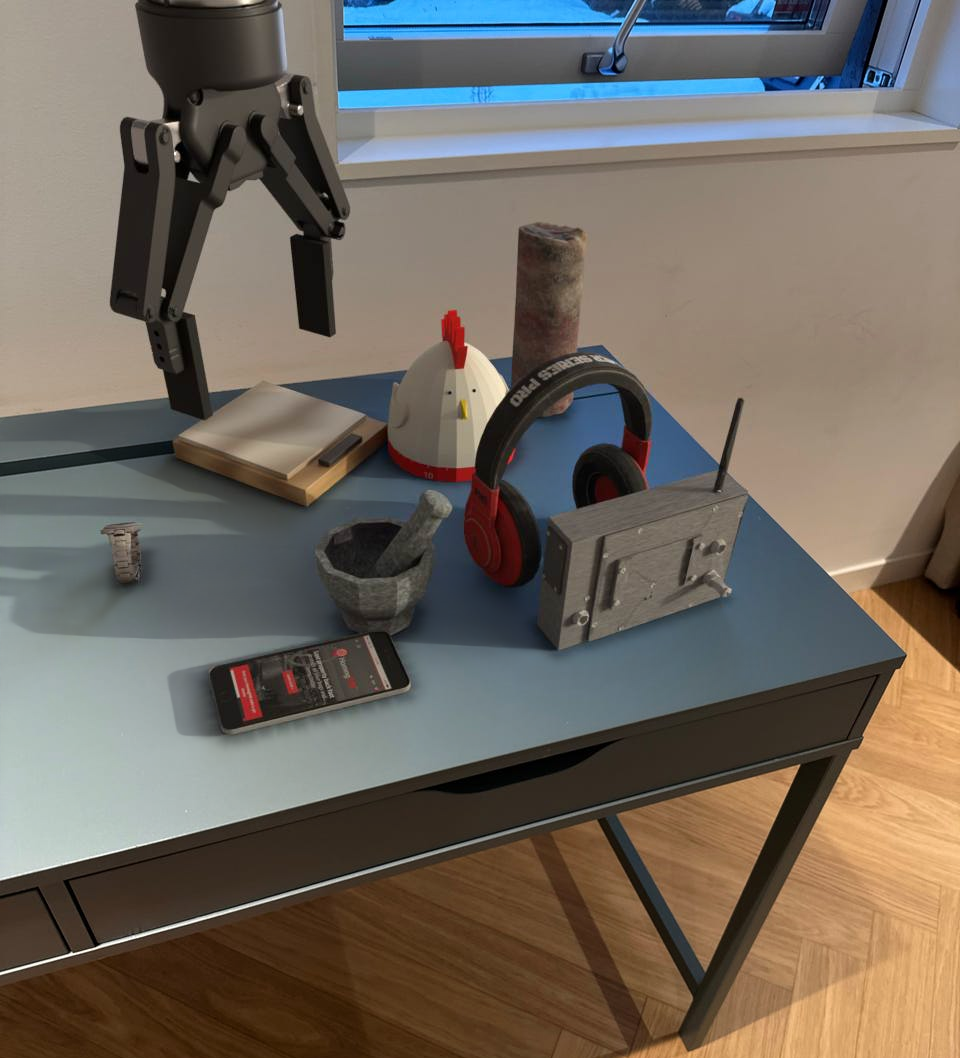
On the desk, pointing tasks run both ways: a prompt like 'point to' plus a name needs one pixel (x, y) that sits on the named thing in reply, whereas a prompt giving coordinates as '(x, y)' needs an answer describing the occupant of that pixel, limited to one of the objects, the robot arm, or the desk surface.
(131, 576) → the wristwatch
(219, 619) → the desk surface
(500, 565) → the headphones
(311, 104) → the robot arm
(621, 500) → the electronic device
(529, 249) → the brown stone cylinder
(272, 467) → the scale
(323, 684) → the smartphone
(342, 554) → the mortar and pestle
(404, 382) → the kitchen timer
